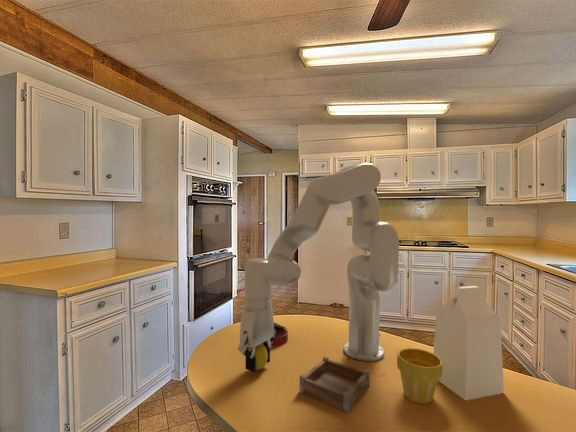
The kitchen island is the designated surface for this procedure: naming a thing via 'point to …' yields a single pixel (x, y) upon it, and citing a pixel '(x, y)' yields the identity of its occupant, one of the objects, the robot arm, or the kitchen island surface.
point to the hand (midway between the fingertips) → (257, 364)
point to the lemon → (260, 356)
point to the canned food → (279, 335)
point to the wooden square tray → (335, 384)
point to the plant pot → (419, 373)
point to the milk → (469, 345)
